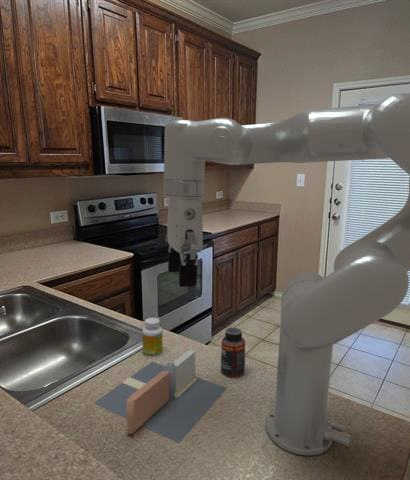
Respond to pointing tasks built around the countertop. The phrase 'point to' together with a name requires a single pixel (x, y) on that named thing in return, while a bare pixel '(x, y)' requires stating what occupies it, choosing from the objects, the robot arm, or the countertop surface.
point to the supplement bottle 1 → (152, 338)
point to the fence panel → (147, 401)
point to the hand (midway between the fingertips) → (181, 278)
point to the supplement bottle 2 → (233, 353)
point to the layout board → (170, 410)
